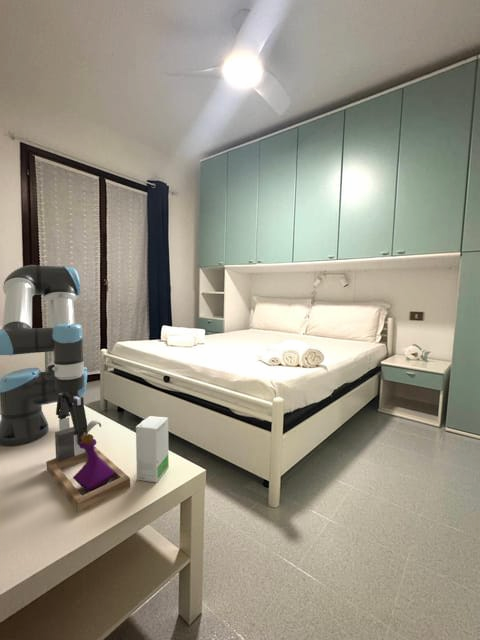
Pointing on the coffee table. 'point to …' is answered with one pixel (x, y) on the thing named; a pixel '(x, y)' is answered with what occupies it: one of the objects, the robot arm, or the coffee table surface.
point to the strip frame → (67, 458)
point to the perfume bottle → (92, 464)
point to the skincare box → (152, 448)
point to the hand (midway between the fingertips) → (72, 445)
